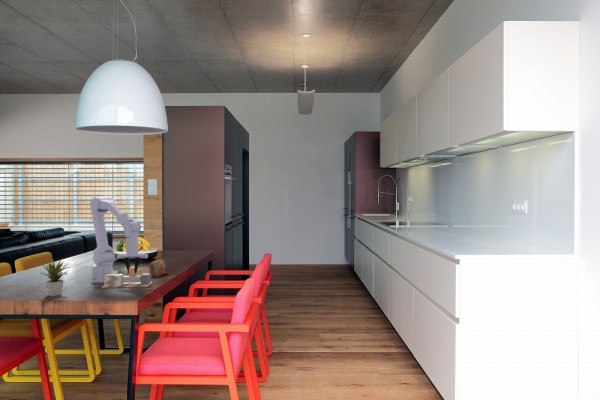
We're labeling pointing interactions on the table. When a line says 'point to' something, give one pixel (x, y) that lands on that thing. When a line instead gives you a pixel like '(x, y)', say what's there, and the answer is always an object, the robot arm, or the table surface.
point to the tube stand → (119, 282)
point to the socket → (145, 278)
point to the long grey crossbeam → (131, 277)
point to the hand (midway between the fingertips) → (132, 272)
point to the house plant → (55, 278)
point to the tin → (157, 267)
